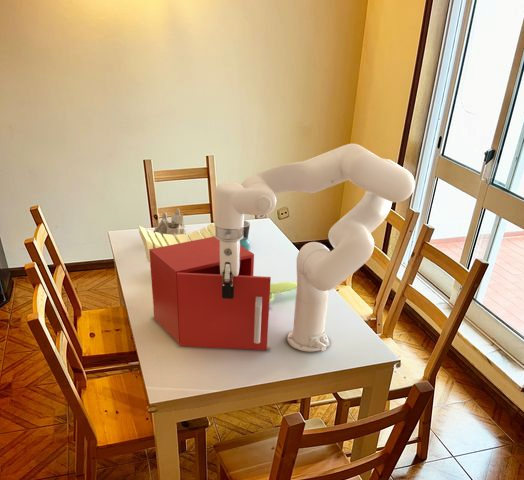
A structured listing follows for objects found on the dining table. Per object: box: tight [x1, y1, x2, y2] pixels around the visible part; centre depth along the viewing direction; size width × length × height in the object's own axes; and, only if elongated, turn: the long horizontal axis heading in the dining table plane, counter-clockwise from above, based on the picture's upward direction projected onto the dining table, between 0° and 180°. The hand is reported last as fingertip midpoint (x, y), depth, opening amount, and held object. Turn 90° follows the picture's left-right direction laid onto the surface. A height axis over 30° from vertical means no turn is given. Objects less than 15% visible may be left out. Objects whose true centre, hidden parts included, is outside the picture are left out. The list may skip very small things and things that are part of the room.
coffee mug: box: [244, 220, 251, 240], centre depth 231 cm, size 12×9×10 cm
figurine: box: [269, 281, 297, 303], centre depth 192 cm, size 18×27×6 cm
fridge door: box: [177, 273, 272, 351], centre depth 157 cm, size 7×26×24 cm, turn 89°
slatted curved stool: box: [138, 221, 215, 263], centre depth 202 cm, size 30×16×18 cm, turn 111°
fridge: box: [149, 236, 255, 345], centre depth 173 cm, size 18×26×24 cm
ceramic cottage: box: [153, 207, 187, 244], centre depth 226 cm, size 16×16×15 cm
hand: (228, 291), depth 155 cm, fingers open, 6 cm apart
